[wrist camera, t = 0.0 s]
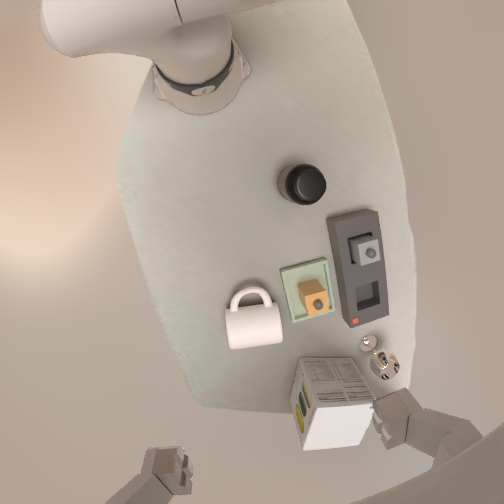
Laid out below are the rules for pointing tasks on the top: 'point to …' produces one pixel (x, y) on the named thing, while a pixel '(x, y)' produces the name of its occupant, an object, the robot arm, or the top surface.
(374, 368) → the wineglass
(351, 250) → the gray knobbed block
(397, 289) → the top surface
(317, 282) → the plug
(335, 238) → the strip
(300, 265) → the tray
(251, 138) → the top surface
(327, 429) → the supplement box
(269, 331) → the mug
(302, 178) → the supplement bottle
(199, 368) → the top surface
